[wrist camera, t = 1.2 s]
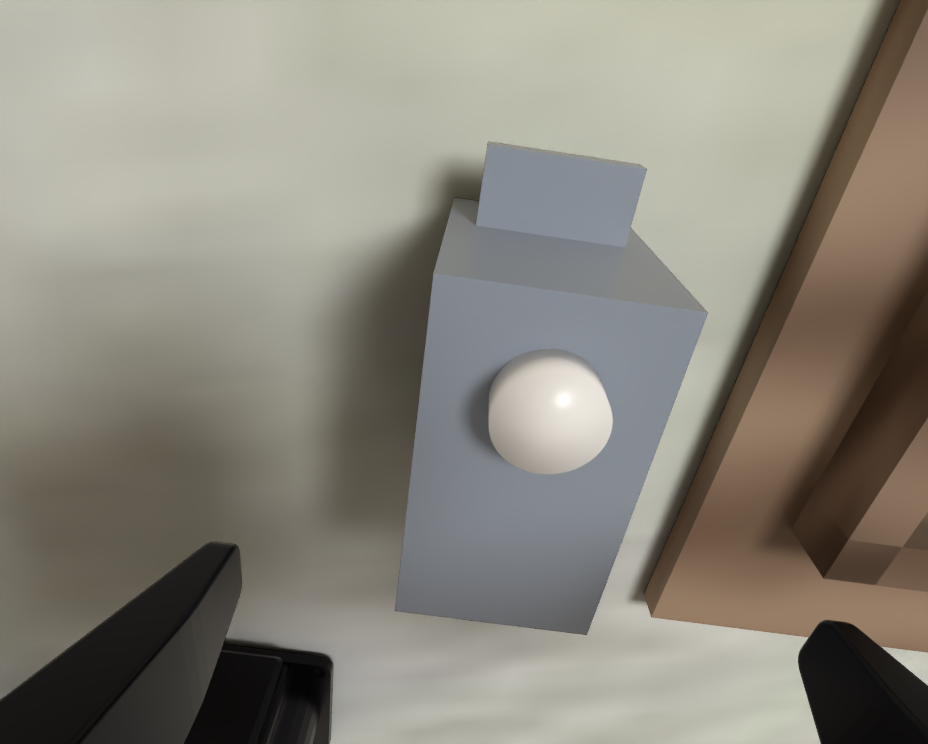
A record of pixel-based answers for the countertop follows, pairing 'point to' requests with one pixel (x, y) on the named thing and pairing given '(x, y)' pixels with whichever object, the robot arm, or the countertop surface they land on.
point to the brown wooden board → (829, 402)
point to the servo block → (539, 392)
